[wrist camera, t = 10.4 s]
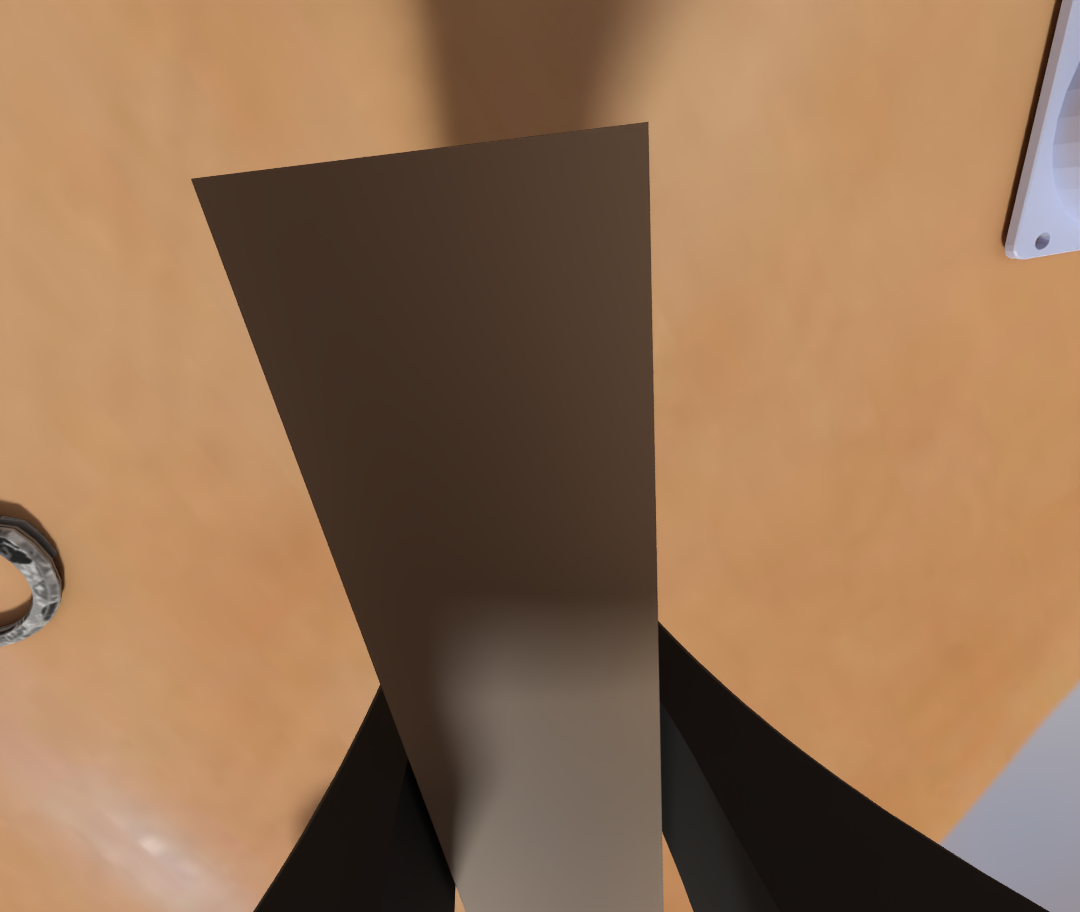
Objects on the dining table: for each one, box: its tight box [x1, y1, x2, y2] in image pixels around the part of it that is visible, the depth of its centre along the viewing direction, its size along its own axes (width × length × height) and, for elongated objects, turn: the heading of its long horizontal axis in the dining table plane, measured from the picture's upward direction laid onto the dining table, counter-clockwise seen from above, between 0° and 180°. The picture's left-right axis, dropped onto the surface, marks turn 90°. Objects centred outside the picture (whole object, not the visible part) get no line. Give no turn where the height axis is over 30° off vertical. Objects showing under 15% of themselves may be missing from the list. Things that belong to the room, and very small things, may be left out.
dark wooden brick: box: [191, 122, 664, 912], centre depth 9 cm, size 3×14×6 cm, turn 7°
